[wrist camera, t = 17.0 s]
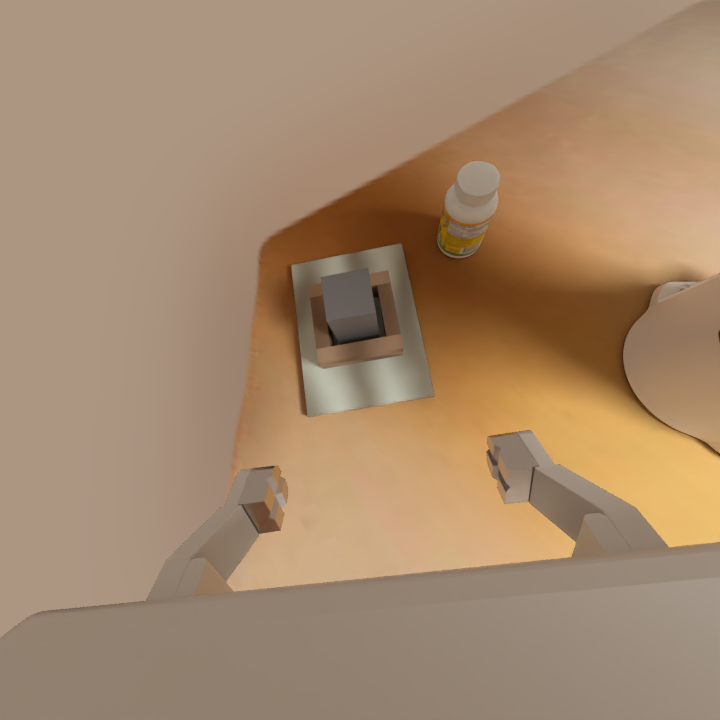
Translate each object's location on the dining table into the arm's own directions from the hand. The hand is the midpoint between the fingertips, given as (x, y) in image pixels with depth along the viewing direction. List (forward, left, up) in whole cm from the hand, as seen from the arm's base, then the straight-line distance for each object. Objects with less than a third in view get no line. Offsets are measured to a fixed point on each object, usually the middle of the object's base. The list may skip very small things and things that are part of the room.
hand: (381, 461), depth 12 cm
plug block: (+1, -14, -21) cm, 25 cm away
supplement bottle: (-13, -23, -22) cm, 35 cm away
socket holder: (+1, -14, -22) cm, 26 cm away
